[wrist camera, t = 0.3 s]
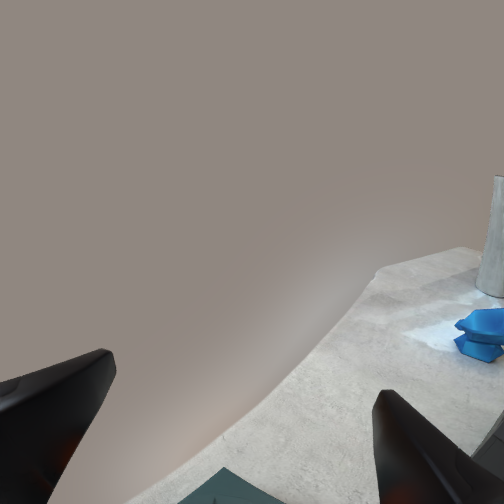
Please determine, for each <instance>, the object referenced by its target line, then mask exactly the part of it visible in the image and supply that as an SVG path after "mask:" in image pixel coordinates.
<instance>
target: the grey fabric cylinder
mask: <svg viewBox="0 0 504 504" xmlns="http://www.w3.org/2000/svg"><path fill="white" fill-rule="evenodd" d="M476 286H477V288H478V289H479V290H481V291H482V292H484V293H486V294H488V295H491V296H494V297H498V298H503V297H504V176H498V175H496V176H495V177H494V189H493V198H492V206H491V214H490V220H489V226H488V232H487V237H486V243H485V247H484V252H483V256H482V260H481V264H480V268H479V272H478V276H477V280H476Z"/></svg>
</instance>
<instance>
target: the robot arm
mask: <svg viewBox="0 0 504 504" xmlns="http://www.w3.org/2000/svg"><path fill="white" fill-rule="evenodd" d="M115 375H116V365H115V361H114V357H113V353H112V352H111V351H109V350H106V349H102V348H101V349H98V350H95V351H92V352H90V353H87V354H84V355H81V356H79V357H76V358H73V359H70V360H67V361H64V362H62V363H58V364H56V365H53V366H50V367H47V368H44V369H41V370H38V371H35V372H32V373H29V374H26V375H23V376H22V377H21V376H20V377H17V378H14V379H10V380H7V381H3V382H0V504H47V502H48V500H49V498H50V496H51V494H52V492H53V491H54V488H55V487H56V485H57V483H58V481H59V479H60V477H61V475H62V474H63V472H64V470H65V468H66V466H67V464H68V462H69V461H70V459H71V457H72V455H73V454H74V452H75V450H76V448H77V447H78V445H79V443H80V441H81V440H82V438H83V436H84V434H85V433H86V431H87V429H88V428H89V426H90V424H91V423H92V421H93V419H94V418H95V416H96V414H97V412H98V411H99V409H100V407H101V405H102V403H103V401H104V399H105V397H106V395H107V393H108V390H109V388H110V386H111V384H112V382H113V380H114V378H115ZM372 422H373V449H374V458H375V465H376V473H377V481H378V489H379V499H380V504H504V481H503V480H501V479H500V478H498V477H497V476H495V475H494V474H492V473H491V472H489V471H488V470H486V469H485V468H484V467H482V466H481V465H480V464H478V463H477V462H475V461H474V460H473V459H472V458H471V457H469V456H468V455H467V454H466V453H465V452H463V451H462V450H461V449H460V448H458V446H456V445H455V444H454V443H453V442H452V441H451V440H450V439H448V438H447V437H446V436H445V435H444V434H443V433H442V432H441V431H439V430H438V429H437V428H436V427H435V426H434V425H433V424H431V423H430V422H429V421H428V420H427V419H426V418H425V417H424V416H422V415H421V414H420V413H419V412H418V411H417V410H416V409H414V408H413V407H412V406H411V405H410V404H409V403H408V402H407V401H405V400H404V399H403V398H402V397H401V396H400V395H399V394H398V393H396V392H395V391H394V390H381V391H380V393H379V395H378V397H377V400H376V402H375V404H374V406H373V409H372Z"/></svg>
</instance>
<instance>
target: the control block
mask: <svg viewBox="0 0 504 504" xmlns="http://www.w3.org/2000/svg"><path fill="white" fill-rule="evenodd" d="M177 504H286V503H284V502H282V501H280V500H278V499H276V498H274V497H272V496H270V495H269V494H267V493H265V492H263V491H262V490H260V489H258V488H256V487H255V486H253V485H251V484H250V483H248V482H246V481H245V480H243V479H242V478H240V477H239V476H237V475H235V474H234V473H232V472H231V471H229V470H228V469H226V468H225V467H223V468H222V469H221V470H220V471H218V472H217V473H216V474H215V475H214V476H212V477H211V478H210V479H209V480H208V481H206V482H205V483H204V484H203V485H201V486H200V487H199V488H197V489H196V490H195V491H194V492H192V493H191V494H190V495H188V496H187V497H186V498H184V499H183V500H182V501H180V502H179V503H177Z"/></svg>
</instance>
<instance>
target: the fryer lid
mask: <svg viewBox="0 0 504 504" xmlns="http://www.w3.org/2000/svg"><path fill="white" fill-rule="evenodd" d="M493 434H494V435H495V436H497V437H498V438H499V439H501V440H502V441H503V442H504V420H503V421H502V422H501V423H500V425H499V426H498V427H497V429H496V430H495V432H494V433H493Z"/></svg>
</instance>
